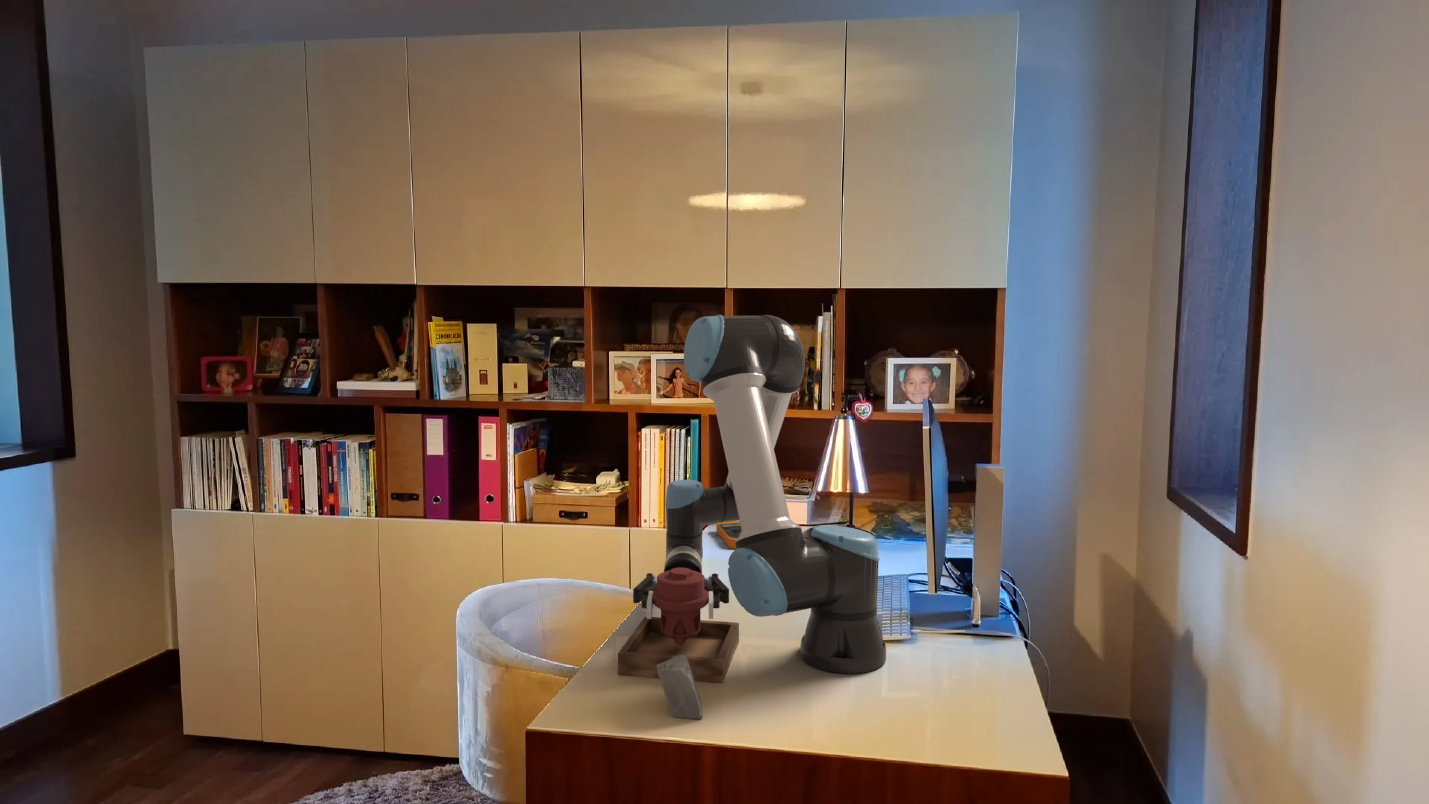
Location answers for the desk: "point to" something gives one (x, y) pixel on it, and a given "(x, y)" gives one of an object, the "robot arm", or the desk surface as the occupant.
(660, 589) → the mechanical component
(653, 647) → the walnut tray
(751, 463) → the robot arm
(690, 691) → the mineral specimen
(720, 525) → the multimeter
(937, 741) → the desk surface
